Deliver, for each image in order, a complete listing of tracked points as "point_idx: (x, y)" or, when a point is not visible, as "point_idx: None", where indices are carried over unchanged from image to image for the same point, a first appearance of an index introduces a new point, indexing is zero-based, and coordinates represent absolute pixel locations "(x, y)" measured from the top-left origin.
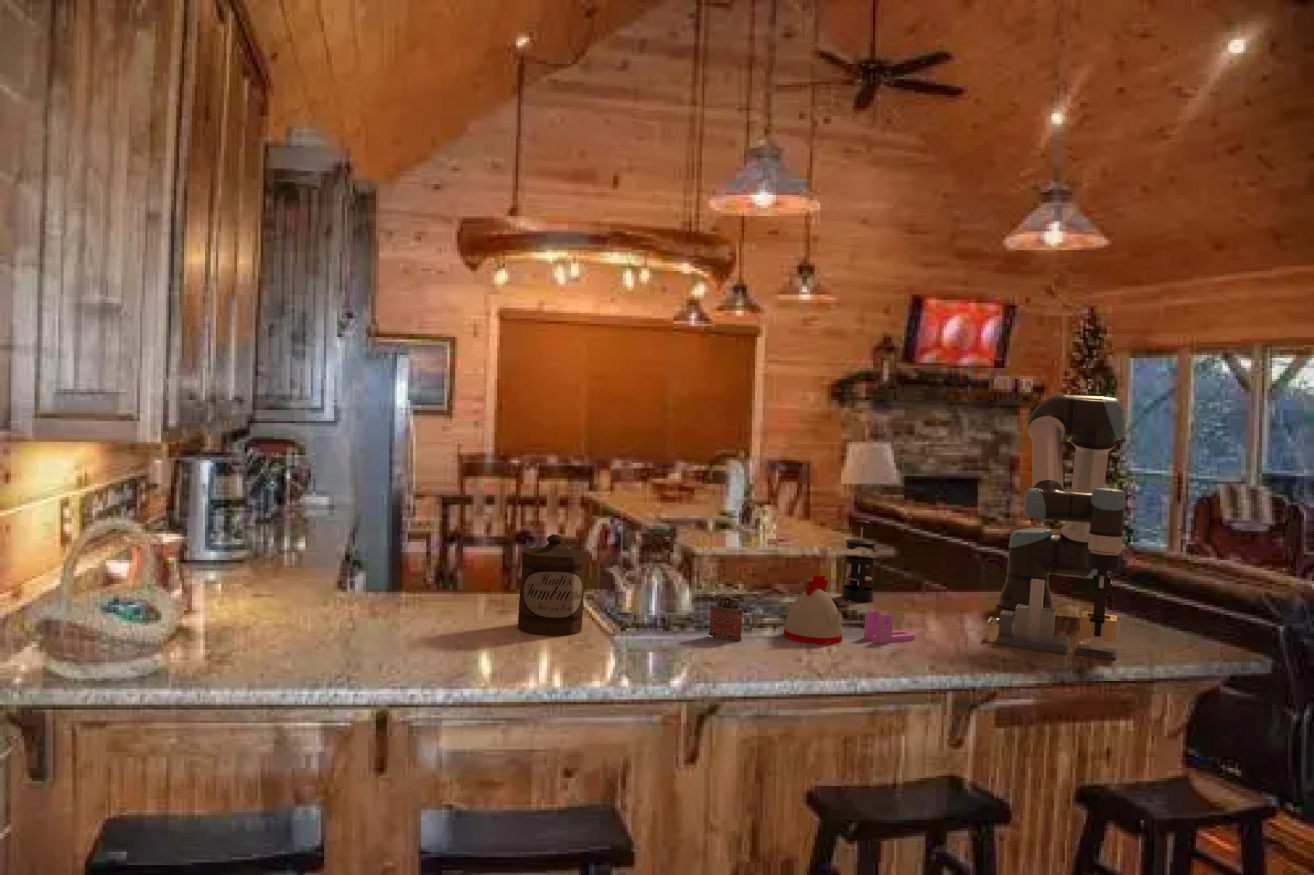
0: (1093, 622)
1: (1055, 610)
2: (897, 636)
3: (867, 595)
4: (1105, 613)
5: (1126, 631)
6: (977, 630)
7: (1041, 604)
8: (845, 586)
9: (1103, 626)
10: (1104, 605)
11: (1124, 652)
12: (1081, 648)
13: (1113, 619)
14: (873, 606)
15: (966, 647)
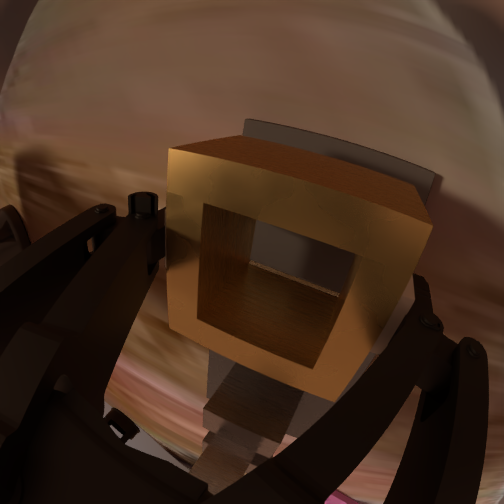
0: (383, 348)
1: (208, 406)
2: (341, 500)
3: (126, 425)
4: (138, 210)
5: (38, 92)
6: (197, 399)
7: (246, 468)
8: (118, 429)
9: (411, 291)
10: (482, 446)
11: (250, 89)
12: (307, 264)
13: (359, 227)
14: (146, 427)
15: (359, 463)
